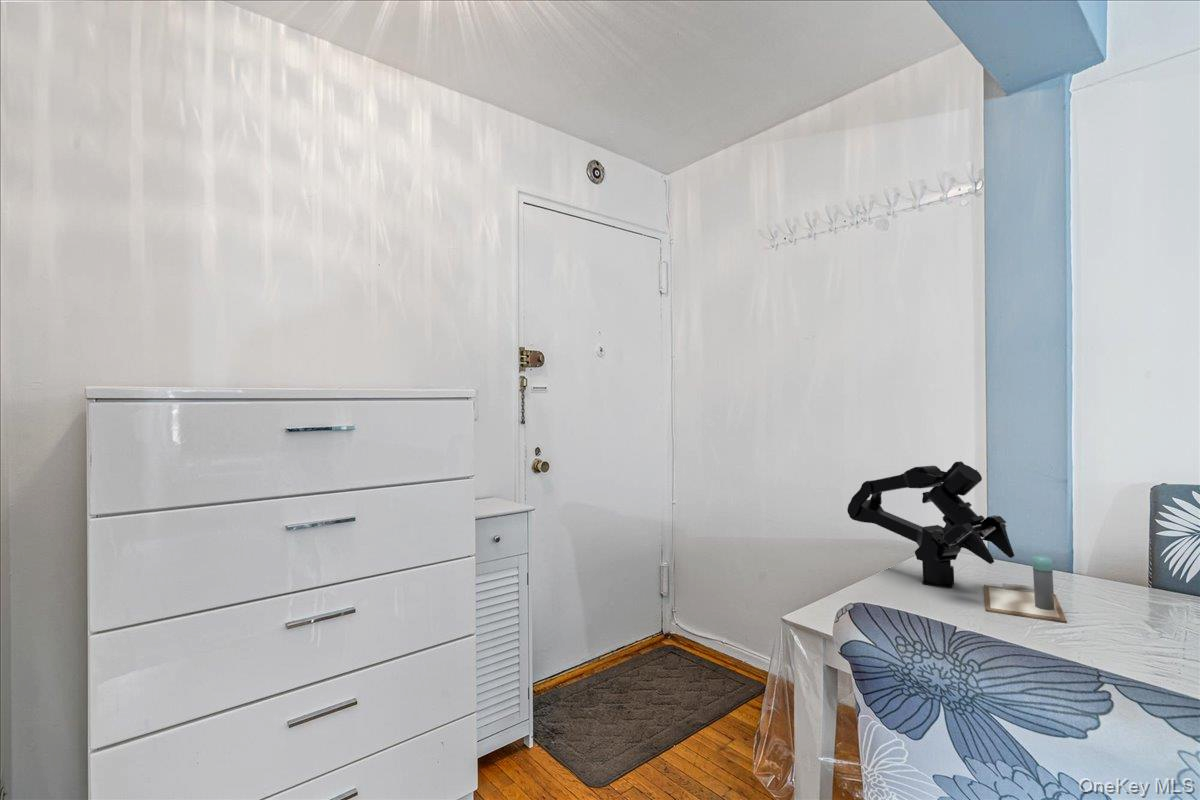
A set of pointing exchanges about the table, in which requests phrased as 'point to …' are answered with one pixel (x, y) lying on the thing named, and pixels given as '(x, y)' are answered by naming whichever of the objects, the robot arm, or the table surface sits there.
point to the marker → (1043, 582)
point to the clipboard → (1019, 602)
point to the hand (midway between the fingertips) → (1002, 560)
